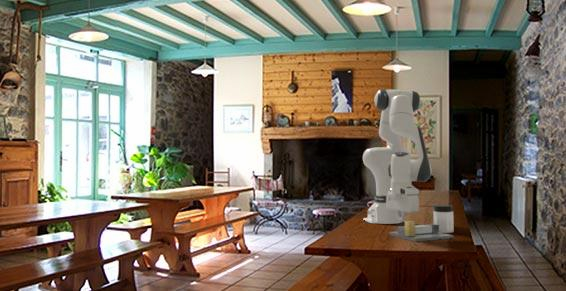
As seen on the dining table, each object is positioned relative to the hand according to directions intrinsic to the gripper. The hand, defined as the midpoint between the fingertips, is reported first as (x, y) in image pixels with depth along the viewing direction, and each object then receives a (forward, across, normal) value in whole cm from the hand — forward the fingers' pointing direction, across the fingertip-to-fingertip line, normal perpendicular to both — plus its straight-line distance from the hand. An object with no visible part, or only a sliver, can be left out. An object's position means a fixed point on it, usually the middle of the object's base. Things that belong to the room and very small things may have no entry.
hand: (402, 221), depth 238 cm
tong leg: (+5, +3, +10) cm, 12 cm away
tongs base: (+5, +1, +7) cm, 9 cm away
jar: (+7, -4, +25) cm, 26 cm away
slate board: (+7, +3, +8) cm, 10 cm away
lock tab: (+5, +6, 0) cm, 8 cm away
